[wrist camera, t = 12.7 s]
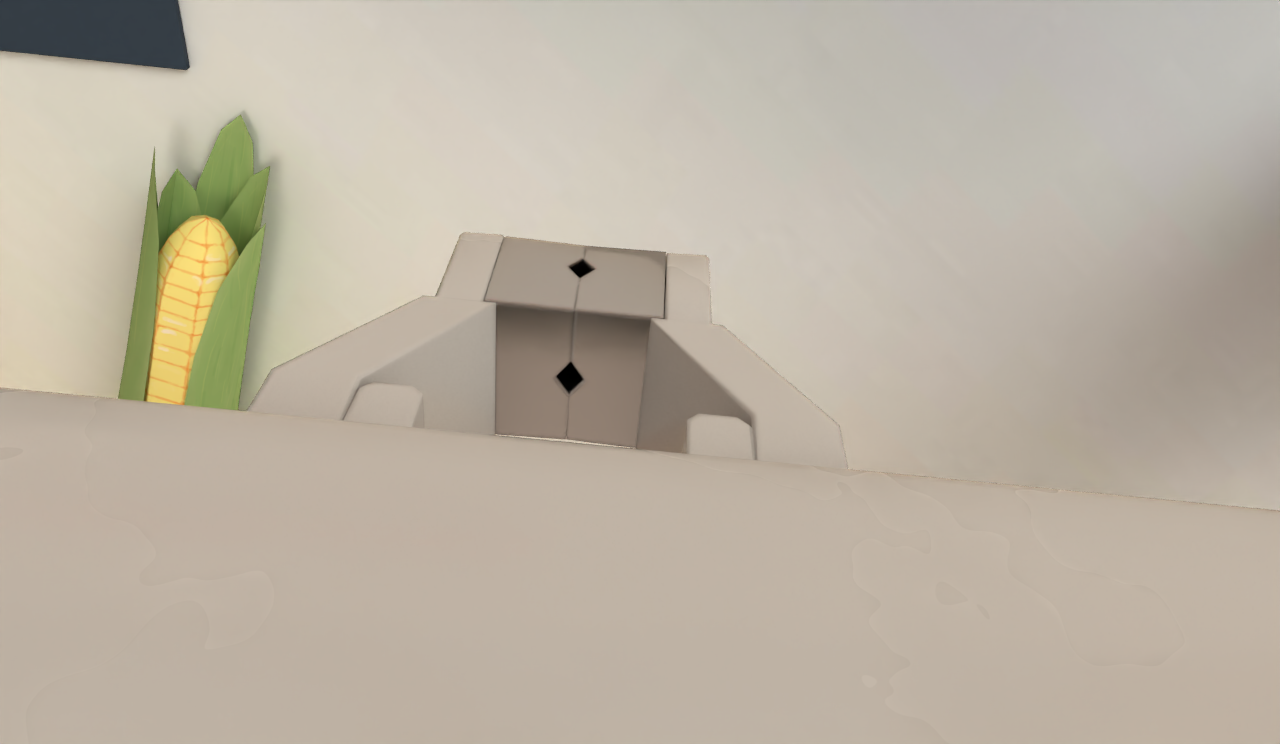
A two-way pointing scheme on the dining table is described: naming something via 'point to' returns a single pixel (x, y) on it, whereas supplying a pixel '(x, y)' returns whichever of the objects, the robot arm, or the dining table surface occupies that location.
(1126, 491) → the dining table surface
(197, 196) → the edible corn
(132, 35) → the dark grey flat piece
